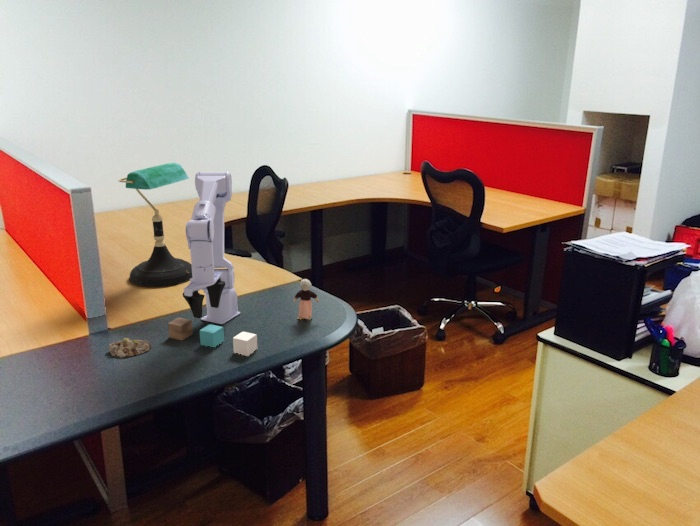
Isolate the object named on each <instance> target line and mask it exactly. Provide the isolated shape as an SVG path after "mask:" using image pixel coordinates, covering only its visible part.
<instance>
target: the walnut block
mask: <svg viewBox="0 0 700 526" xmlns="http://www.w3.org/2000/svg"><path fill="white" fill-rule="evenodd" d="M167 327H168V337H169V338H170V339H174V340H178V341H183V340H185V339H187V338H189V337H190V336H193V324H192V319H189V318H184V317H176V318H174V319H173V320H171V321H169V322H167Z"/></svg>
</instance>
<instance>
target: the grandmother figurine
mask: <svg viewBox="0 0 700 526" xmlns="http://www.w3.org/2000/svg"><path fill="white" fill-rule="evenodd" d="M299 285H300V288H301V289H300V290H299V291H298V292H296V294H295V295H294V298H293V300H292V302H293V303H297V301H298V299H299V304H298V316H297V318H296V319H300V320H299V321H302V320H301V319H303V318H304V319H305V320H306V319H311V317H312V314H313V313H312V311H313V304H312V299H314V301H315V303H319V302H320V300H319V297H318V294H316V293H315V292H314V291H313V290H310V288H311V287H312V283H311V281H310V280H309V279H307V278H303V279H301V281H300V283H299ZM311 298H312V299H311ZM304 319H303V320H304Z"/></svg>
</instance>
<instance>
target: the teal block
mask: <svg viewBox="0 0 700 526" xmlns="http://www.w3.org/2000/svg"><path fill="white" fill-rule="evenodd" d="M224 331H225V330H224V327H223V326H220V325H215V324H212V323H210V324H207V325H206V326H204V327H202V328H201V329H200V330H199V340H200V346H203V345H205V346H204V347H207V346H210V347H209V348H211V347H215V348H216V346H217V345H218V346H220V345H221V344H223V343H224V342H225V333H224ZM223 341H224V342H223ZM222 342H223V343H222ZM219 344H220V345H219ZM218 346H217V347H218Z"/></svg>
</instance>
